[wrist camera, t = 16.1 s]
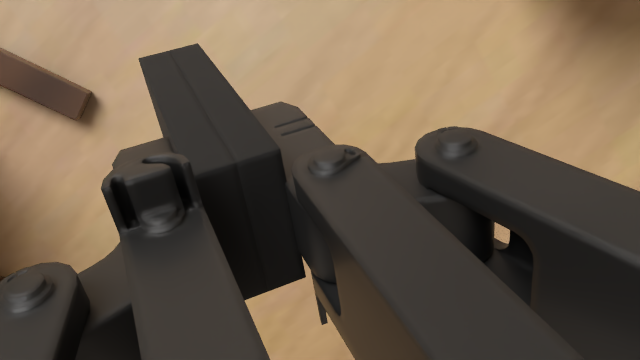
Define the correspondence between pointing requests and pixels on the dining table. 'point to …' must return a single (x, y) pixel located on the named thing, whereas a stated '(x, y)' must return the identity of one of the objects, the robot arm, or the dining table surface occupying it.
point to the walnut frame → (42, 86)
